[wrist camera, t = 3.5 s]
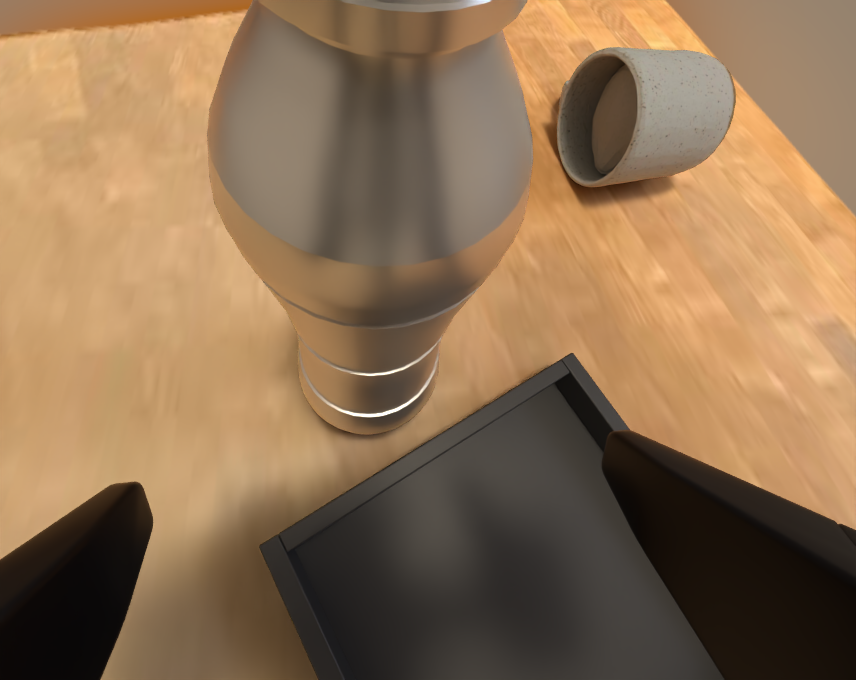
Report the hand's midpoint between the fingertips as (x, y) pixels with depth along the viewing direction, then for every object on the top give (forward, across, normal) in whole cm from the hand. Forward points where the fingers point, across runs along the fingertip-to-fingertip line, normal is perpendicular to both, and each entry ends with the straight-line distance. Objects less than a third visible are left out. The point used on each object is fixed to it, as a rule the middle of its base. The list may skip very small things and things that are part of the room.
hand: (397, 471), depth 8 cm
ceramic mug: (+25, -18, -6) cm, 31 cm away
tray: (+5, -6, +13) cm, 15 cm away
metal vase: (+13, 0, +5) cm, 14 cm away
